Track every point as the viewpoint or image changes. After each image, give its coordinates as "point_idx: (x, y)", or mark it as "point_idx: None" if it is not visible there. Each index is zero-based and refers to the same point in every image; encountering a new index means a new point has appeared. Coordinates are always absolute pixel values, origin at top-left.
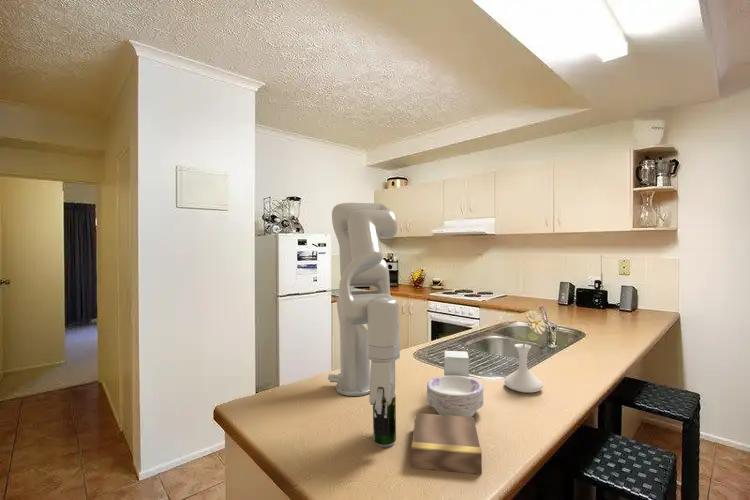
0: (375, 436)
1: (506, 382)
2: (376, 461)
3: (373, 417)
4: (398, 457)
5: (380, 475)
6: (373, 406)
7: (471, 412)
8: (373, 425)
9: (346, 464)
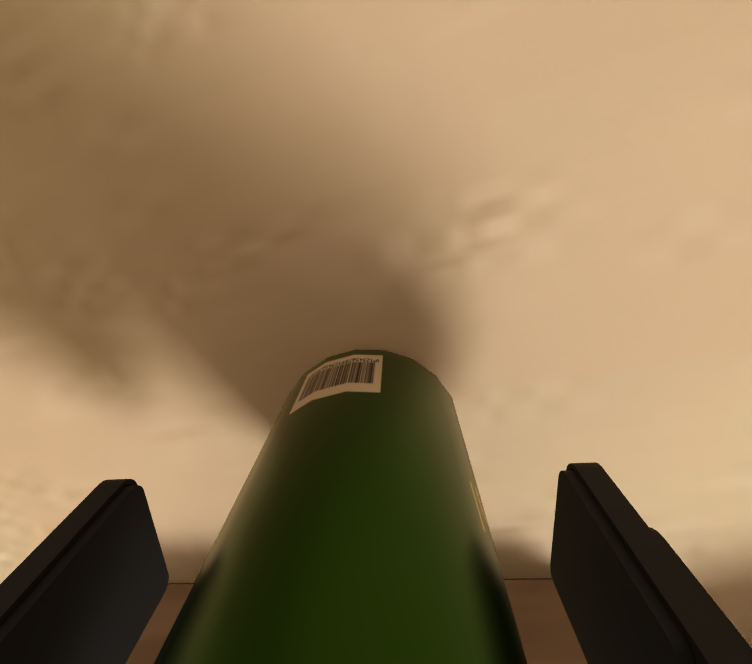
0: (289, 401)
1: None
2: (130, 410)
3: (272, 488)
4: (219, 517)
5: (16, 455)
6: (197, 660)
7: None
8: (301, 424)
9: (6, 224)
